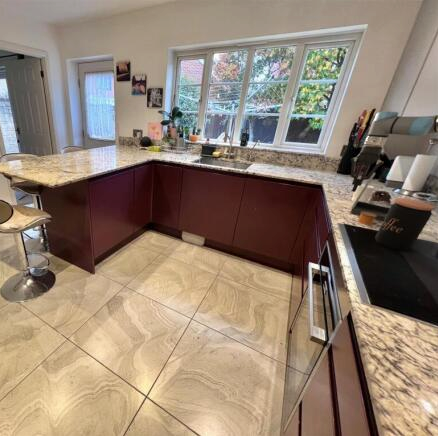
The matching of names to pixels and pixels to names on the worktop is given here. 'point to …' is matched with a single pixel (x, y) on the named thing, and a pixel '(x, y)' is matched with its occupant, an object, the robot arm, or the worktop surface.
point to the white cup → (365, 194)
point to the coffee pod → (366, 218)
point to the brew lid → (363, 190)
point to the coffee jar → (403, 223)
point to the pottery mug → (381, 196)
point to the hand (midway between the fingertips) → (353, 190)
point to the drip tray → (370, 210)
